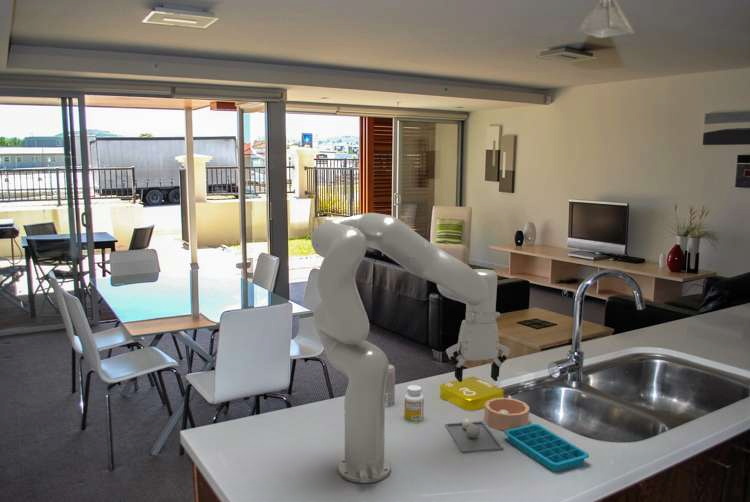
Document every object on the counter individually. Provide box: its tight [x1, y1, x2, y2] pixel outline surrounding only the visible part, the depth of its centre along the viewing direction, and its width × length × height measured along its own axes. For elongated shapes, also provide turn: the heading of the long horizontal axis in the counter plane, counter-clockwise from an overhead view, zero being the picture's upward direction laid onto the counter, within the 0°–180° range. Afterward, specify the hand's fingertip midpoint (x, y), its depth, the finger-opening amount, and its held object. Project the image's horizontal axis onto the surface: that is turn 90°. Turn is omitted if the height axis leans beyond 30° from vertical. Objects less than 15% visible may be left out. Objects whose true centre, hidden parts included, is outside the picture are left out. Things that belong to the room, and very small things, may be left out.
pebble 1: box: [461, 417, 474, 429], centre depth 169 cm, size 3×3×3 cm
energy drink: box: [385, 363, 396, 408], centre depth 186 cm, size 5×5×12 cm
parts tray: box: [444, 421, 504, 454], centre depth 165 cm, size 16×11×1 cm
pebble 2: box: [466, 424, 480, 438], centre depth 165 cm, size 4×4×4 cm
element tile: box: [439, 376, 504, 412], centre depth 191 cm, size 15×15×5 cm
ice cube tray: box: [504, 423, 590, 472], centre depth 157 cm, size 12×20×3 cm, turn 26°
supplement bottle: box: [404, 384, 425, 424], centre depth 176 cm, size 5×5×10 cm
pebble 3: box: [498, 410, 510, 414], centre depth 173 cm, size 4×4×4 cm
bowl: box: [483, 397, 530, 431], centre depth 174 cm, size 12×12×5 cm
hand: (476, 379), depth 163 cm, fingers open, 9 cm apart
